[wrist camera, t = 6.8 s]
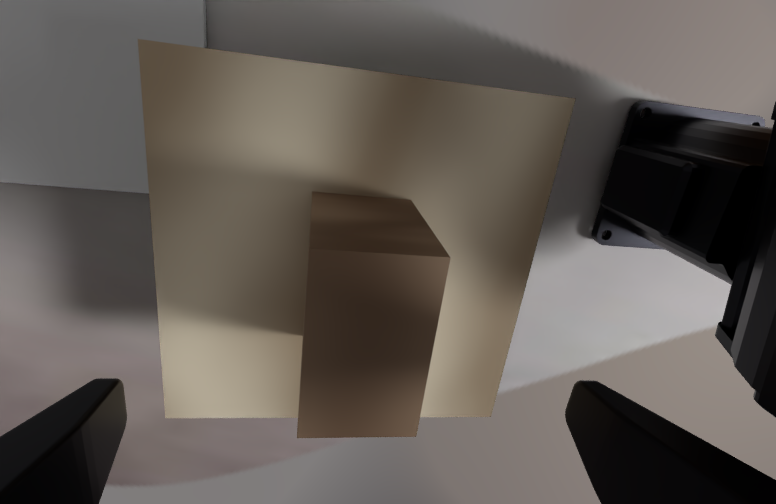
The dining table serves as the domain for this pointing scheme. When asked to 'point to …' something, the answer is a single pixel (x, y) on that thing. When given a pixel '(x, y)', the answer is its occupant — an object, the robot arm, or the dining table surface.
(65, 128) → the mat
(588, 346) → the dining table surface
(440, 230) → the lid
